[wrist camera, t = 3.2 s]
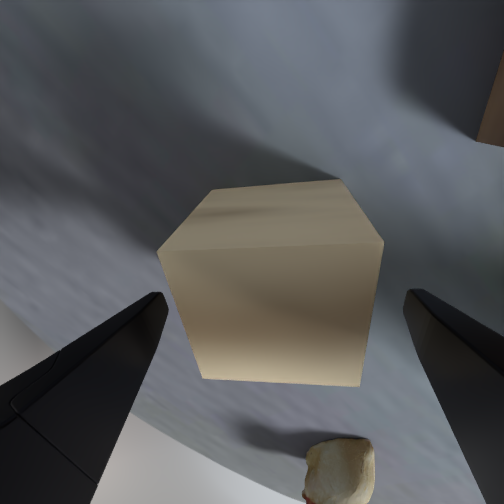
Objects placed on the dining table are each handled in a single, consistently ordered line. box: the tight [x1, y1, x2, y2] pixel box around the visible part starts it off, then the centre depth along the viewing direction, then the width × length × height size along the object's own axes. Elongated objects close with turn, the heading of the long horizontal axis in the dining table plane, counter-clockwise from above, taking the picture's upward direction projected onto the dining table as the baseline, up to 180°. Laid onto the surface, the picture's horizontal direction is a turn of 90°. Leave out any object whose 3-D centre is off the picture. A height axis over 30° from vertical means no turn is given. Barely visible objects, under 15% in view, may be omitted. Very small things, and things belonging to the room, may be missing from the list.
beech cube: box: [157, 179, 384, 387], centre depth 10 cm, size 6×6×6 cm
